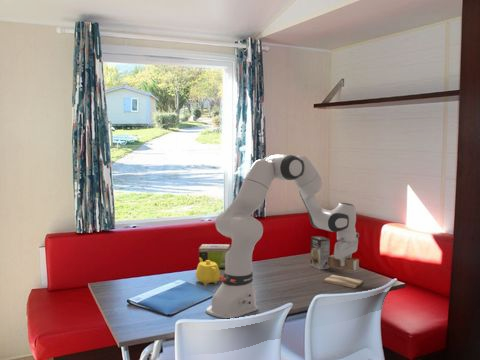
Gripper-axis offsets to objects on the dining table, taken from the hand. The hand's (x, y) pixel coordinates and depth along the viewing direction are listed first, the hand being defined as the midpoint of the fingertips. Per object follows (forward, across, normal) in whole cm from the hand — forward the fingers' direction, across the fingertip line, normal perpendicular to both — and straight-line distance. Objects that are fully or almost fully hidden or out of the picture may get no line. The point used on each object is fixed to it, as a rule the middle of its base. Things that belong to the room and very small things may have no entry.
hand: (345, 264), depth 230 cm
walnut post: (-1, 0, +8) cm, 8 cm away
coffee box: (+9, +17, +22) cm, 29 cm away
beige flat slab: (+9, 0, +1) cm, 9 cm away
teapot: (+9, -38, +55) cm, 68 cm away
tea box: (+9, -26, +60) cm, 66 cm away
